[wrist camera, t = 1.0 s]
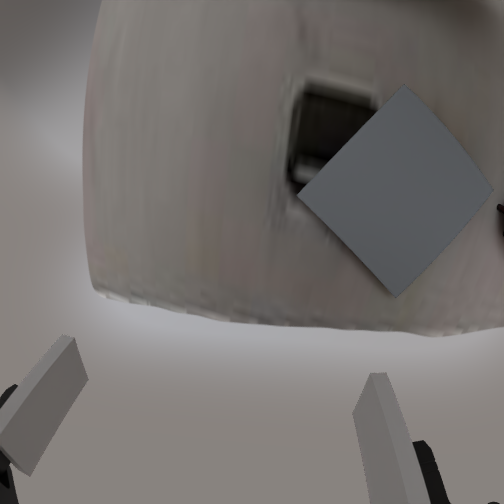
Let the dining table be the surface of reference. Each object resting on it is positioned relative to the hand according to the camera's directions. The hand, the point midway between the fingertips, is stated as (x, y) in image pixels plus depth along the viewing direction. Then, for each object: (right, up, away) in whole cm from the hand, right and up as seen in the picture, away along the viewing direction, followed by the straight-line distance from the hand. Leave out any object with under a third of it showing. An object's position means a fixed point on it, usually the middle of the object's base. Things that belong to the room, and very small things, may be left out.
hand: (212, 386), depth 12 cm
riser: (+19, +13, +20) cm, 30 cm away
